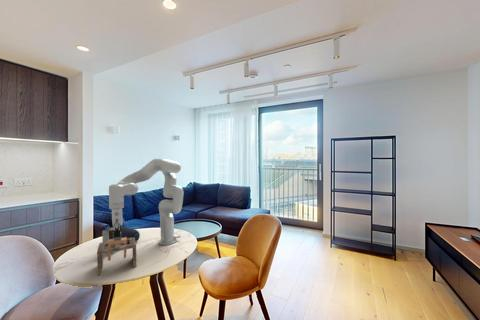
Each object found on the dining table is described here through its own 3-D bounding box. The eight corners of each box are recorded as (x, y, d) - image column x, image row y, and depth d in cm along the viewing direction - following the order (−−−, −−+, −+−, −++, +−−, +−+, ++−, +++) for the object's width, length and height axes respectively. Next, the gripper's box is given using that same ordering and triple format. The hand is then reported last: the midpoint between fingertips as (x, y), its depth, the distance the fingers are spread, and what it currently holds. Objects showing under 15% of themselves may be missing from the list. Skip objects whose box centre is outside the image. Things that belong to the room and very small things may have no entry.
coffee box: (110, 255, 142) (110, 231, 142) (102, 255, 144) (101, 230, 143) (121, 249, 151) (120, 226, 151) (112, 249, 152) (112, 226, 152)
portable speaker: (142, 241, 165) (142, 228, 165) (130, 246, 157) (129, 232, 156) (122, 236, 178) (122, 223, 178) (110, 240, 169) (109, 227, 169)
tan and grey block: (126, 255, 133) (126, 230, 133) (126, 257, 129) (126, 232, 129) (108, 258, 128) (108, 232, 128) (107, 260, 125) (108, 234, 125)
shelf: (135, 257, 140) (134, 235, 139) (136, 267, 127) (136, 243, 127) (100, 264, 131) (99, 241, 130) (97, 275, 118) (97, 250, 118)
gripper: (123, 207, 122) (124, 238, 123) (123, 202, 138) (124, 229, 138) (108, 209, 119) (109, 240, 119) (109, 203, 134) (110, 231, 134)
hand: (117, 234), depth 129 cm, fingers open, 9 cm apart
